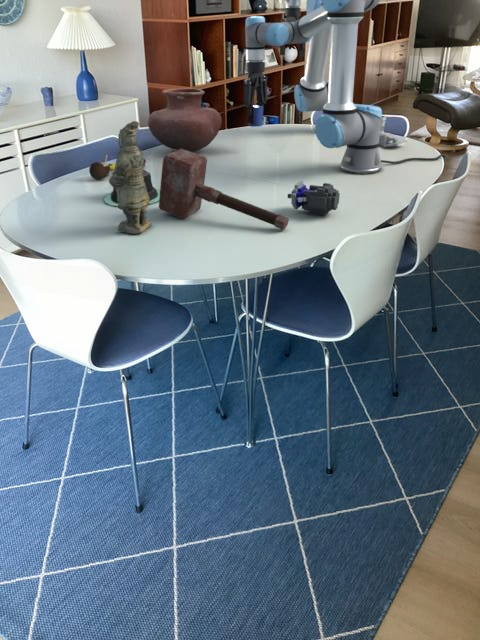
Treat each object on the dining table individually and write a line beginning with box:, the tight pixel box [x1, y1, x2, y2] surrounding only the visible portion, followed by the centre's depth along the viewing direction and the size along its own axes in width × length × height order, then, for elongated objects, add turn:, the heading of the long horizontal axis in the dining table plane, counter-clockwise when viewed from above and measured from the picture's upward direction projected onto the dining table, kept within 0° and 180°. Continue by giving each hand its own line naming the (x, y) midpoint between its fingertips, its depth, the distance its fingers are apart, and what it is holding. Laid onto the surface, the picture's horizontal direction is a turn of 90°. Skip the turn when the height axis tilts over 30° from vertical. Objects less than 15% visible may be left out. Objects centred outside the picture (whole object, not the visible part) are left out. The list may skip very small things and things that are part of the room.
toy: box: [287, 180, 341, 216], centre depth 168 cm, size 9×9×15 cm
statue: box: [108, 120, 153, 235], centre depth 154 cm, size 11×9×30 cm
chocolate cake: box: [103, 168, 160, 207], centre depth 186 cm, size 15×19×20 cm
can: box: [248, 104, 264, 128], centre depth 230 cm, size 6×6×8 cm
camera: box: [378, 115, 408, 148], centre depth 239 cm, size 9×12×15 cm
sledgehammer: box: [158, 149, 290, 231], centre depth 163 cm, size 17×10×40 cm
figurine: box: [88, 154, 147, 181], centre depth 212 cm, size 13×8×25 cm
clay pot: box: [147, 87, 223, 153], centre depth 235 cm, size 30×30×25 cm
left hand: (291, 55), depth 278 cm, fingers open, 13 cm apart
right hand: (255, 121), depth 231 cm, fingers closed on can, 6 cm apart
